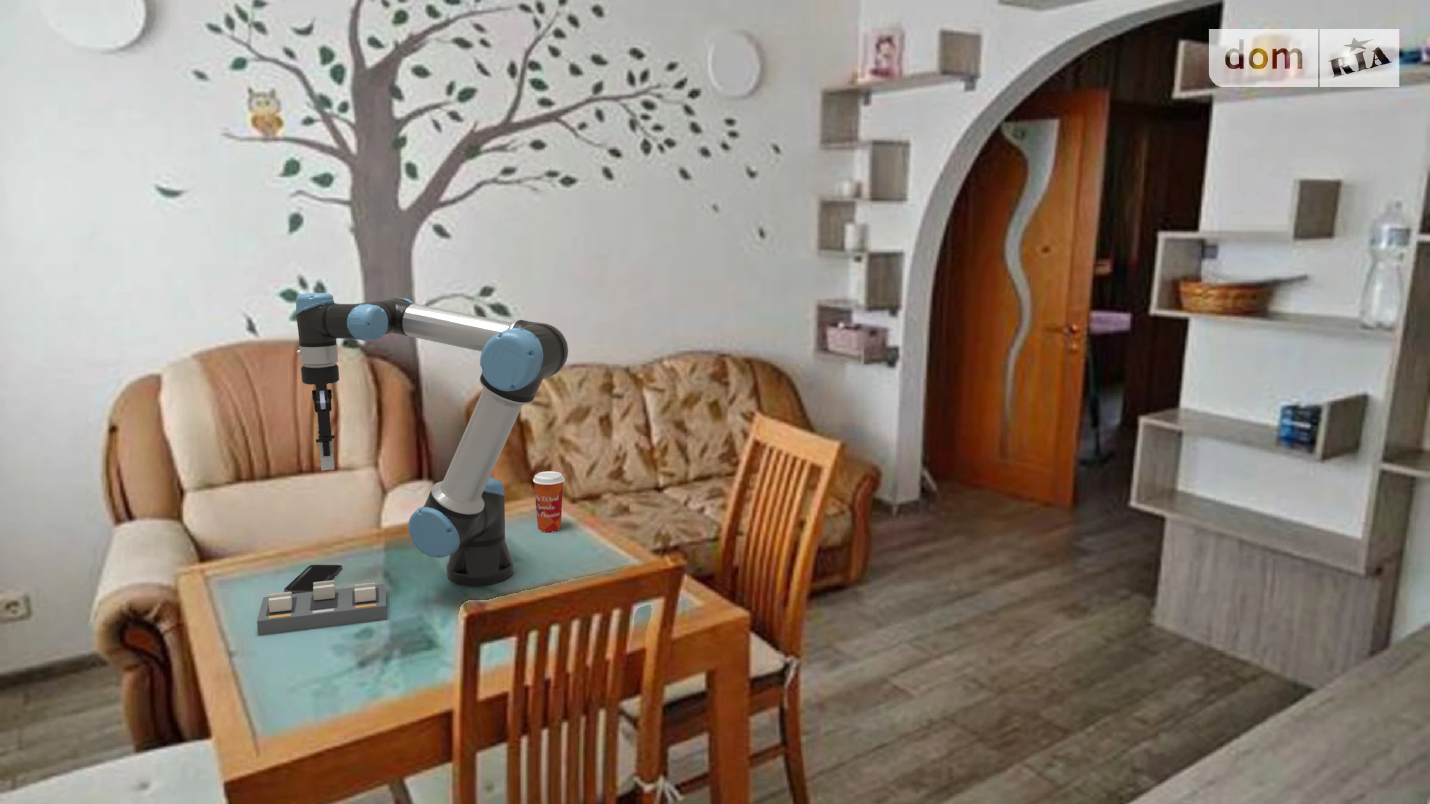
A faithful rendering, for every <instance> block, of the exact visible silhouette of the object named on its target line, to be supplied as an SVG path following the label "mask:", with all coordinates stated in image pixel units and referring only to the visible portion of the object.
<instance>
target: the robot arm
mask: <svg viewBox="0 0 1430 804" xmlns="http://www.w3.org/2000/svg"><path fill="white" fill-rule="evenodd" d="M295 316H296V325H297V326H296V327H297V334H298V343H299V344H298V345H299V350H296V355H300V364H302V366H301V368H300V372H301V381H302V383H303V384H304V385H314V386H315V389H313V390H311V395H312V398H311V399H312V400H313V406H314V411H315V413H317V423H318V431H317V433H318V438H317V439H315V443H318V446H319V456H320V457H319V460H320V470H321V471H330V470H331V471H332V470H335V459H334V444H333V440H334V439H335V438H336V436H335V435H333V434H332V427H331V413H330V412H331V411H332V399H333V393H332V392H333V391H332V388H330V389H328V385H329V384H335V383H337V382H339V381H340V371H339V365H338V364H337V363H338V362H339V355H338V353H339V352H338V343H337V339H343V340H359V341H361V342H362V341H363V342H366V341H377V340H380V339H382V338H383V336H385V335H390V334H395V335H401V336H405V337H410V338H417V339H419V340H425V341H429V342H433V343H438V344H442V345H443V344H444V345H449V346H453V347H457V348H461V349H462V348H463V349H467V350H468V349H469V350H473V351H478V352H481V353H480V357H479V358H480V359H479V366H480V367H481V373H480V377H479V383H480V385H481V387H482V392H481V394H480V396H479V398H478V400H477V402H476V405H475V406H474V409H473V412H472V414H471V416H470V419H469V421H468V423H467V426H466V428H465V430H464V432H463V435H462V437H461V439H460V441H459V444H458V445H457V449H456V450H455V452H454V455H453V458H452V460H451V462H450V465H449V466H448V469H447V471H446V474H445V476H444V478H443V480H441V481H438V482H436V483H435V484H434V485H433V486H432V487H431V489H430V491H429V493H428V496H427V498H426V500H425V503H424V504H423V506H421V507H419V508H417V509H416V510H414V512H413V513H412V514H411V515H410V517H409V520H408V524H407V530H408V535H409V537H410V538H411V540H412V544H413V545H414V546H415V548H416V549H417V550H418V551H420V552H421V553H422V554H423V555H425V556H427V557H430V558H434V559H441V558H446V557H448V556H449V558H448V561H447V564H446V577H447V579H448V580H449V581H450V582H452V583H454V584H457V585H461V586H469V587H470V586H471V587H472V586H473V587H477V586H479V587H480V586H488V585H494V584H496V583H500V582H502V581H505V580H508V579H509V578H510V577H512V576H513V574H514V570H515V569H514V560H513V557H512V555H511V552H510V549H509V547H508V545H507V541H506V520H505V519H506V518H505V516H506V515H505V514H506V510H505V509H506V507H505V506H506V505H505V503H506V501H505V497H506V494H505V488H504V483H503V482H502V481H501V479H498V478H496V477H495V478H494V477H491V476H492V473H493V471H494V469H495V467H496V464H497V462H498V461H499V458H500V456H501V454H502V451H503V449H504V447H505V445H506V443H507V440H508V438H509V436H510V434H511V431H512V430H513V427H514V425H515V423H516V420H517V419H518V416H519V414H520V412H521V410H522V407H523V406H525V405H528V404H530V403H532V402H533V401H534V399H535V397H536V395H537V393H538V390H539V388H540V386H541V384H542V382H543V380H545V379H547V378H551V377H553V376H554V375H556V374H558V373H559V372H560V371H561V370H562V369H563V367H564V366H565V365H566V362H567V360H568V356H569V347H568V342H567V340H566V337H565V335H564V334H563V333H562V332H561V330H559V329H558V328H557V327H555V326H553V325H551V324H549V323H544V322H536V321H529V320H524V319H517V320H516V321H514V322H509V321H506V320H505V321H504V320H500V319H495V318H490V317H485V316H479V315H474V314H470V313H469V314H468V313H465V312H464V313H463V312H459V311H454V310H450V309H449V310H448V309H444V308H438V307H433V306H428V305H424V304H419V303H414V302H413V301H412V300H410V299H408V298H406V297H405V298H404V297H401V298H399V297H392V298H390V299H389V298H388V299H383V300H377V301H368V302H360V303H335V300H334V296H333V295H332V293H328V292H308V293H307V292H305V293H300V294H298V295H297V296H296V299H295Z"/></svg>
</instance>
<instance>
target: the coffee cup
mask: <svg viewBox="0 0 1430 804" xmlns="http://www.w3.org/2000/svg"><path fill="white" fill-rule="evenodd" d="M532 481H533V484H534V496H535V507H536V508H535V512H536V521H537V530H538V529H539V530H541V531H545V532H544V533H553V532H552V531H556V530H558V529H560V530H561V528H562V527H561V526H562V512H563V510H562V509H563V495H564V494H563V492H564V491H563V490H564V482H566V479H565V478H564V476H563V474H562V473H561V472H559V471H553V470H552V471H550V470H549V471H541V472H538V473H536V474H535V475H534V477H533V479H532ZM539 530H538V531H539ZM541 531H540V532H541ZM558 531H559V530H558ZM556 532H557V531H556Z"/></svg>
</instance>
